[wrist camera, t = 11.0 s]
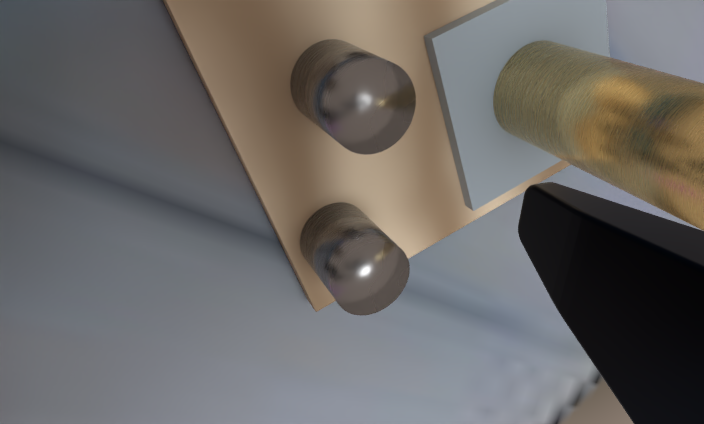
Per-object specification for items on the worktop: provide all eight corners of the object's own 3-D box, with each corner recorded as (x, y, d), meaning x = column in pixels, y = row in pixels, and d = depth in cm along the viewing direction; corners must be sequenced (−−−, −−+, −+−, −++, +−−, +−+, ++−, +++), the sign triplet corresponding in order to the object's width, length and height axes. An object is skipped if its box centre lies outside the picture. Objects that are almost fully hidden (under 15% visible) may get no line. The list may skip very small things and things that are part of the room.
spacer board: (307, 299, 26) (316, 311, 26) (43, -247, 15) (42, -255, 15) (591, 137, 30) (606, 143, 29) (539, -410, 19) (562, -425, 18)
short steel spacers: (314, 281, 25) (349, 329, 22) (74, -237, 15) (81, -271, 12) (472, 191, 26) (524, 225, 24) (350, -330, 17) (413, -379, 14)
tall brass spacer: (486, 139, 25) (770, 293, 15) (502, 41, 23) (835, 142, 13) (560, 132, 26) (860, 266, 17) (581, 39, 25) (929, 129, 15)
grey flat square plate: (465, 205, 27) (473, 211, 26) (423, 35, 22) (431, 39, 22) (604, 126, 28) (614, 129, 28) (591, -47, 24) (603, -46, 23)
